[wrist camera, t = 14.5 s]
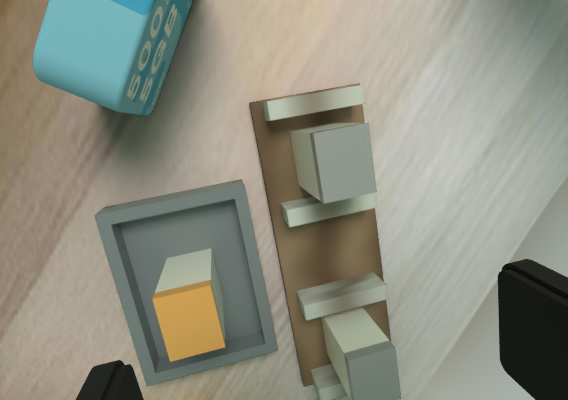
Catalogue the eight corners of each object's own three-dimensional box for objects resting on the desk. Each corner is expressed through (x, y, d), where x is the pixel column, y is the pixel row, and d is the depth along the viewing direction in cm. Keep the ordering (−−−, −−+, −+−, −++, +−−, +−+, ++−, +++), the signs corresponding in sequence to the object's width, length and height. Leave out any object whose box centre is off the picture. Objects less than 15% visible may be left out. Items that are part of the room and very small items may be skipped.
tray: (241, 179, 33) (244, 184, 31) (273, 332, 37) (278, 350, 34) (105, 207, 32) (94, 215, 29) (152, 364, 35) (146, 386, 33)
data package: (151, 117, 31) (114, 112, 20) (96, 95, 30) (23, 76, 18) (201, -23, 30) (194, -117, 18) (146, -52, 29) (100, -171, 17)
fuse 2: (357, 301, 37) (395, 347, 30) (363, 343, 38) (401, 398, 31) (320, 311, 37) (348, 360, 29) (327, 354, 38) (356, 412, 30)
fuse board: (356, 84, 34) (373, 79, 30) (389, 356, 40) (407, 379, 37) (249, 103, 32) (253, 100, 29) (302, 381, 39) (311, 408, 35)
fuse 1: (332, 123, 33) (368, 122, 25) (340, 176, 34) (376, 192, 27) (289, 131, 33) (313, 133, 25) (299, 185, 34) (324, 203, 26)
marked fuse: (211, 248, 33) (210, 285, 26) (222, 297, 35) (225, 347, 27) (166, 258, 33) (152, 299, 25) (180, 308, 34) (170, 361, 26)
